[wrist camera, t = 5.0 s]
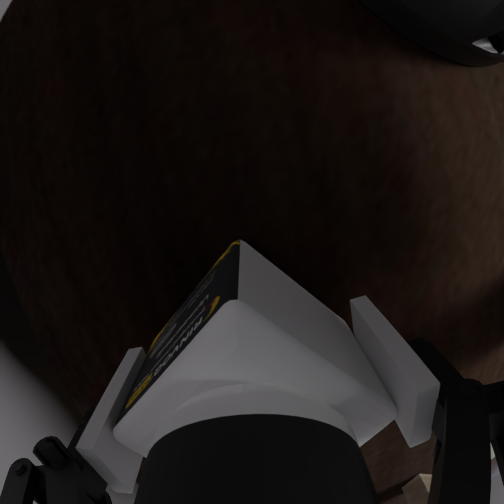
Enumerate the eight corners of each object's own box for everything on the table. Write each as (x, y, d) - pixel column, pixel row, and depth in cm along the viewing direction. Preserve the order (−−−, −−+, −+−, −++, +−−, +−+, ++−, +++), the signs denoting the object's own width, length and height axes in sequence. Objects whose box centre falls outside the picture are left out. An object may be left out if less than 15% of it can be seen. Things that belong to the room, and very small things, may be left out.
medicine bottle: (238, 234, 14) (219, 491, 2) (347, 321, 15) (463, 525, 4) (152, 339, 15) (63, 550, 4) (258, 405, 17) (270, 601, 5)
